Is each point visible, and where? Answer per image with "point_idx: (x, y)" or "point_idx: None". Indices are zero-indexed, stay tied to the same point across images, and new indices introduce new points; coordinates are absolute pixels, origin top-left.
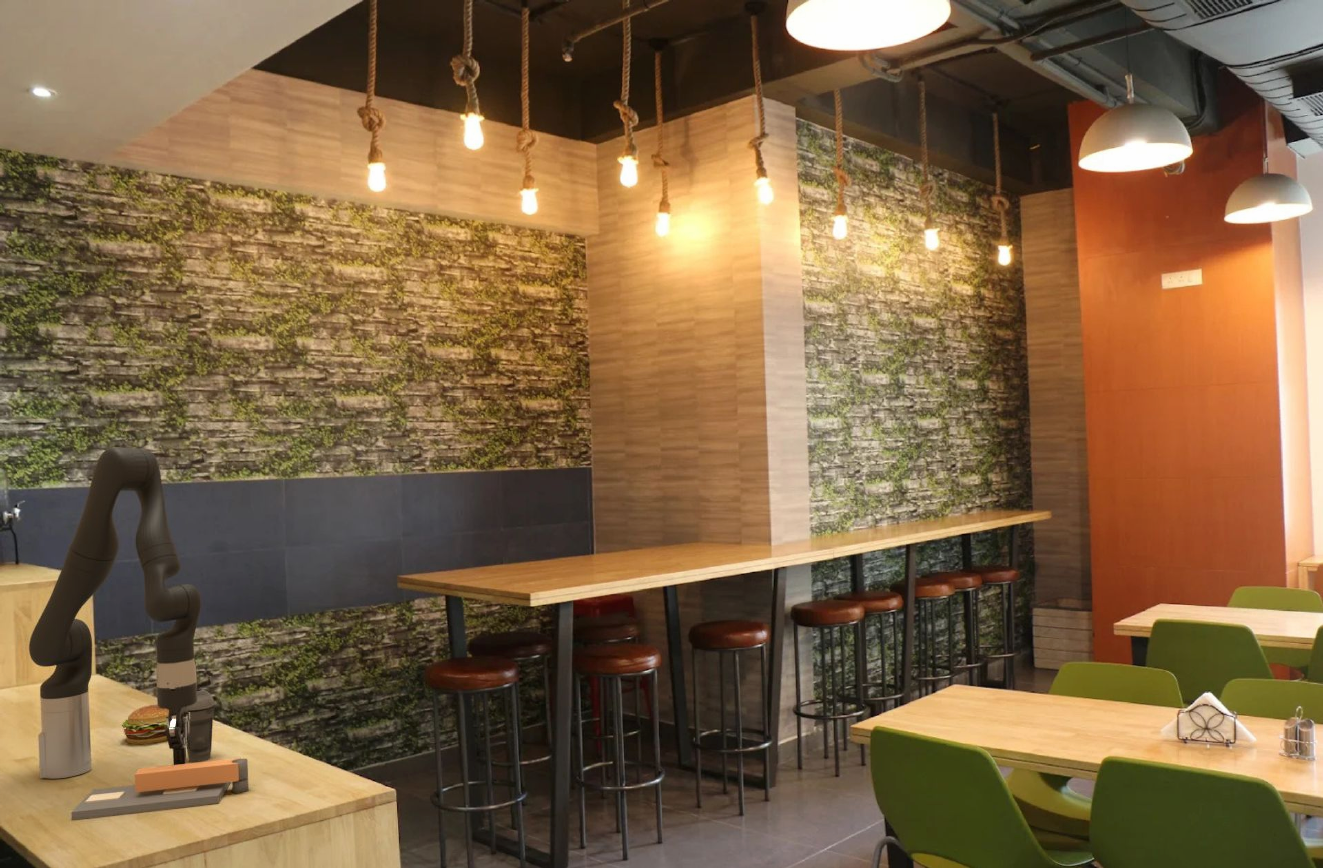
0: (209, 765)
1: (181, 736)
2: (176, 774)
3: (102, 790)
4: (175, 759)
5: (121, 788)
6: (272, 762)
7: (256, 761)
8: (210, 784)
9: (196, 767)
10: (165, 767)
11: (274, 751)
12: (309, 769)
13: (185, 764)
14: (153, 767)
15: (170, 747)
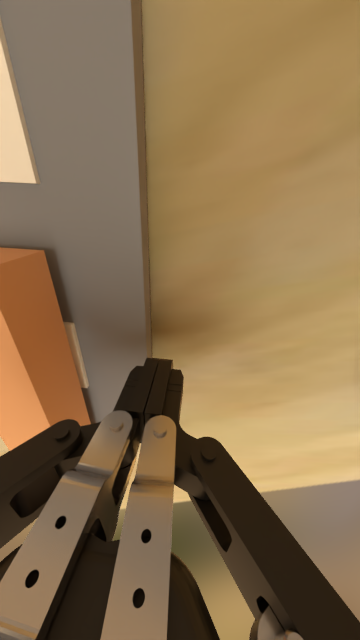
0: None
1: (27, 523)
2: None
3: (94, 27)
4: (127, 382)
5: (104, 149)
6: (258, 466)
7: (289, 450)
8: (86, 401)
9: (4, 433)
10: (4, 364)
11: (348, 474)
12: (177, 491)
13: (36, 412)
14: (4, 325)
15: (51, 429)
